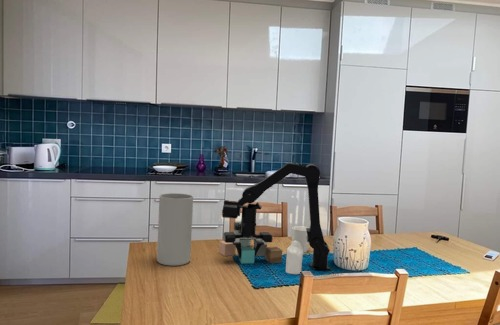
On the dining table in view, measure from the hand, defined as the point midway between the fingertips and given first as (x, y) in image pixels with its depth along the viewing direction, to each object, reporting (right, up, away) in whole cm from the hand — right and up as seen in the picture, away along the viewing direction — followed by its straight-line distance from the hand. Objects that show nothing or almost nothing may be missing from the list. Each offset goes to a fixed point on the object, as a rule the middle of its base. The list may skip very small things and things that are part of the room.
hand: (246, 258), depth 156 cm
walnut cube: (+11, -2, +3) cm, 11 cm away
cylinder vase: (-28, 0, -4) cm, 28 cm away
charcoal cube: (+6, -1, +11) cm, 12 cm away
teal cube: (0, -1, 0) cm, 1 cm away
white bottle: (+17, -3, -9) cm, 20 cm away
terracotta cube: (-8, 0, +8) cm, 12 cm away
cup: (-2, 0, +21) cm, 21 cm away
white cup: (+23, -1, +19) cm, 30 cm away
